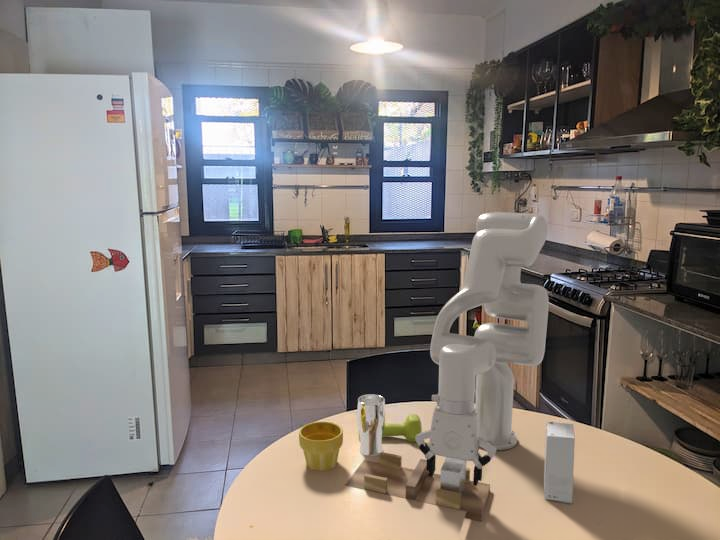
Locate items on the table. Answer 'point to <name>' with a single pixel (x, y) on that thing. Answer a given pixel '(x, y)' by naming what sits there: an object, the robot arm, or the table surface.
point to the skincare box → (559, 462)
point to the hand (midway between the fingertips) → (453, 478)
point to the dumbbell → (404, 428)
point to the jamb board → (427, 490)
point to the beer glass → (371, 423)
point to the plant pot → (321, 444)
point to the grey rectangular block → (453, 475)
